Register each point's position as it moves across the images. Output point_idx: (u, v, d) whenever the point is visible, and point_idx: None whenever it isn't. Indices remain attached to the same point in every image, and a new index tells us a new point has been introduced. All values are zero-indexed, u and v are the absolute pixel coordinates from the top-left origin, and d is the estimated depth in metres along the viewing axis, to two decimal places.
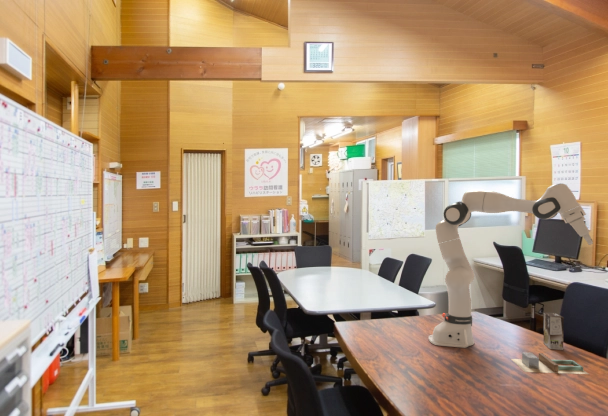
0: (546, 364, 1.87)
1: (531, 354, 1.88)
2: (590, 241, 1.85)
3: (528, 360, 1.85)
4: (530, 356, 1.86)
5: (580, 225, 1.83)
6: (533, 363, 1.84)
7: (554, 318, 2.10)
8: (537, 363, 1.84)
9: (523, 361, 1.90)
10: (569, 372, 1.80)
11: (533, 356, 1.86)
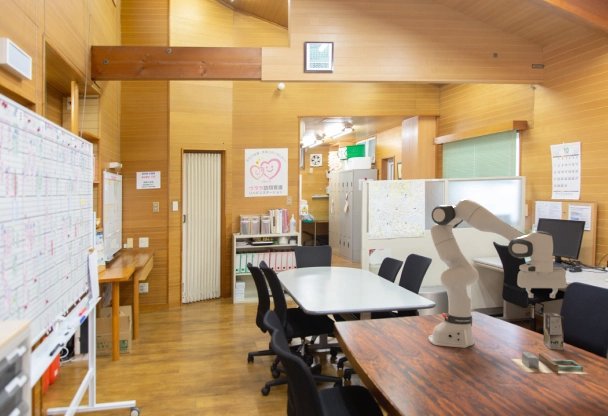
0: (546, 364, 1.87)
1: (531, 354, 1.88)
2: (529, 295, 1.92)
3: (528, 360, 1.85)
4: (530, 356, 1.86)
5: (520, 277, 1.92)
6: (533, 363, 1.84)
7: (554, 318, 2.10)
8: (537, 363, 1.84)
9: (523, 361, 1.90)
10: (569, 372, 1.80)
11: (533, 356, 1.86)
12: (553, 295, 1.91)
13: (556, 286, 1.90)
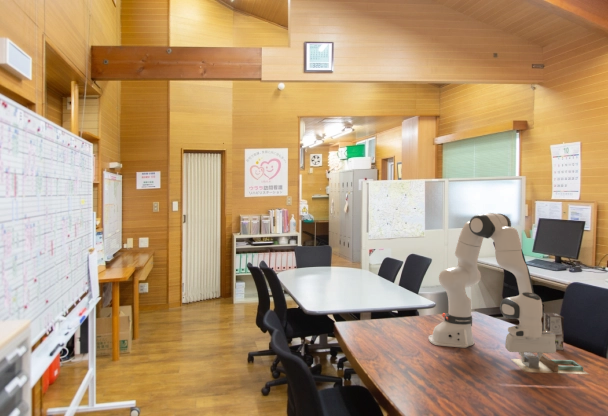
0: (546, 364, 1.87)
1: (531, 354, 1.88)
2: (522, 359, 1.87)
3: (528, 360, 1.85)
4: (530, 356, 1.86)
5: (508, 341, 1.87)
6: (533, 363, 1.84)
7: (554, 318, 2.10)
8: (537, 363, 1.84)
9: None
10: (569, 372, 1.80)
11: (533, 356, 1.86)
12: None
13: (545, 351, 1.85)
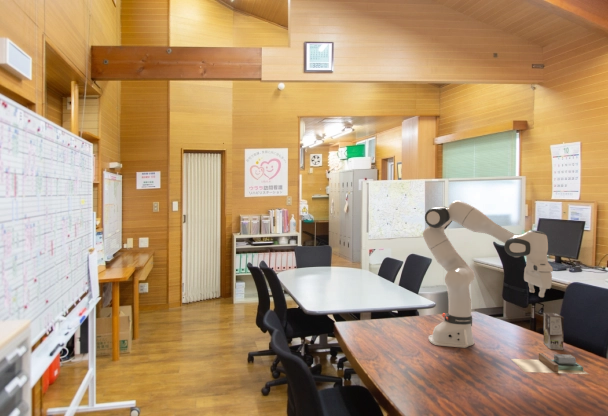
0: (546, 364, 1.87)
1: (561, 355, 1.87)
2: (543, 294, 1.95)
3: (573, 360, 1.84)
4: (569, 356, 1.86)
5: (548, 279, 1.90)
6: None
7: (554, 318, 2.10)
8: None
9: (562, 365, 1.84)
10: (569, 372, 1.80)
11: (567, 355, 1.87)
12: None
13: None
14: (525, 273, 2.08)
